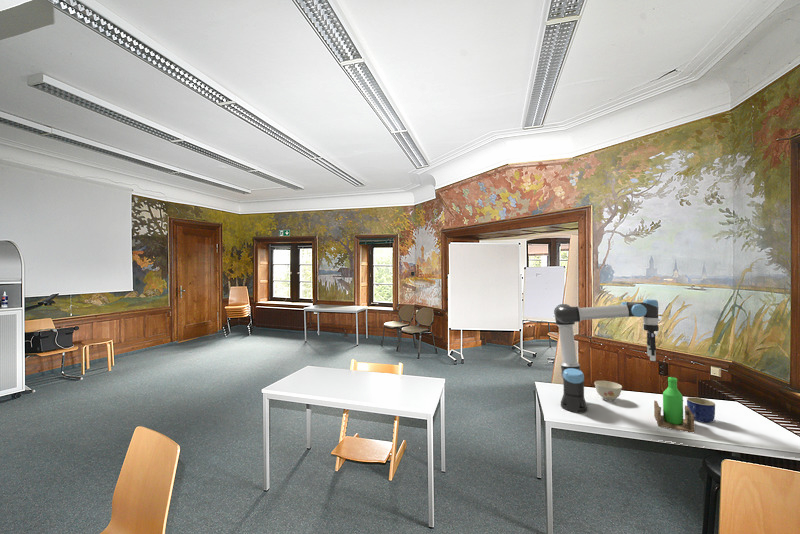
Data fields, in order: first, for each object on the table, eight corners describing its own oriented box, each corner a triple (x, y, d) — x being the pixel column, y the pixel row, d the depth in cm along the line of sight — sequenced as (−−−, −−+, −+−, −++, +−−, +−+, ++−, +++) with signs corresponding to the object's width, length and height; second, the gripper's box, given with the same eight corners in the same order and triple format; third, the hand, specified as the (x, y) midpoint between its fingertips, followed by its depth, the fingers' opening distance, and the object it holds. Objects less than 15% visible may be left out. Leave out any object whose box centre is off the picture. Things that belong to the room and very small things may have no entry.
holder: (658, 426, 186) (658, 409, 186) (654, 415, 200) (654, 400, 200) (694, 433, 178) (694, 415, 178) (687, 421, 192) (687, 405, 192)
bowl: (591, 398, 227) (591, 384, 227) (598, 393, 238) (598, 379, 238) (618, 405, 215) (618, 390, 215) (625, 399, 226) (625, 384, 226)
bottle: (687, 426, 184) (686, 380, 184) (669, 424, 185) (668, 379, 186) (677, 419, 192) (676, 375, 193) (660, 417, 194) (659, 374, 195)
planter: (709, 426, 186) (709, 406, 187) (682, 417, 197) (682, 399, 198) (719, 421, 192) (719, 402, 192) (692, 413, 203) (692, 395, 203)
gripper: (661, 327, 195) (662, 363, 195) (655, 322, 216) (656, 354, 216) (645, 326, 199) (646, 361, 199) (641, 321, 220) (641, 353, 220)
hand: (651, 358), depth 207 cm, fingers open, 13 cm apart
